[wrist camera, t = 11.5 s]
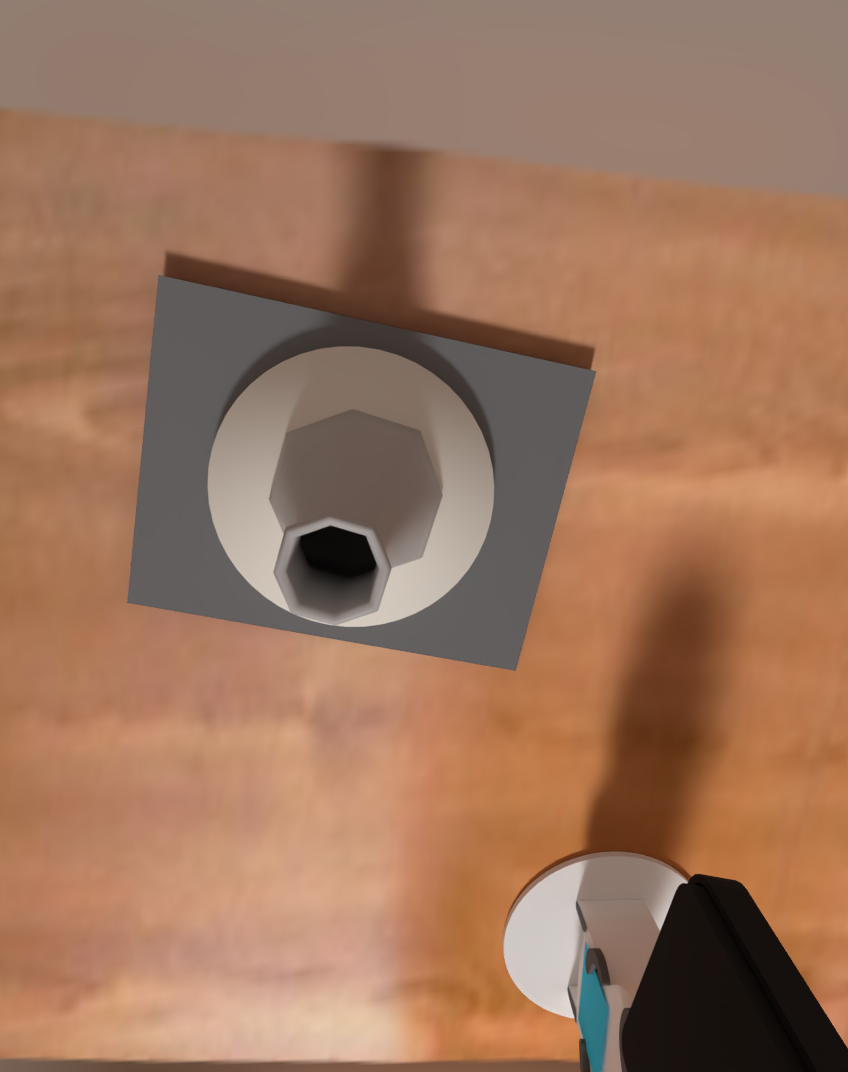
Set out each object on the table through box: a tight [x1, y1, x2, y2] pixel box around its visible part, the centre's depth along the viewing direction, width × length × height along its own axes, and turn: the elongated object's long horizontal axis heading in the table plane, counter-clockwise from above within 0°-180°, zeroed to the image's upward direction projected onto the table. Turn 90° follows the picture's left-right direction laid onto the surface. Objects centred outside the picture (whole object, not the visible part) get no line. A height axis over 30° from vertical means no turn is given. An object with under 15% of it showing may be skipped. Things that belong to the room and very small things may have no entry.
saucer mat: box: [127, 275, 596, 671], centre depth 28 cm, size 18×14×2 cm
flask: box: [269, 409, 443, 626], centre depth 22 cm, size 7×7×10 cm
